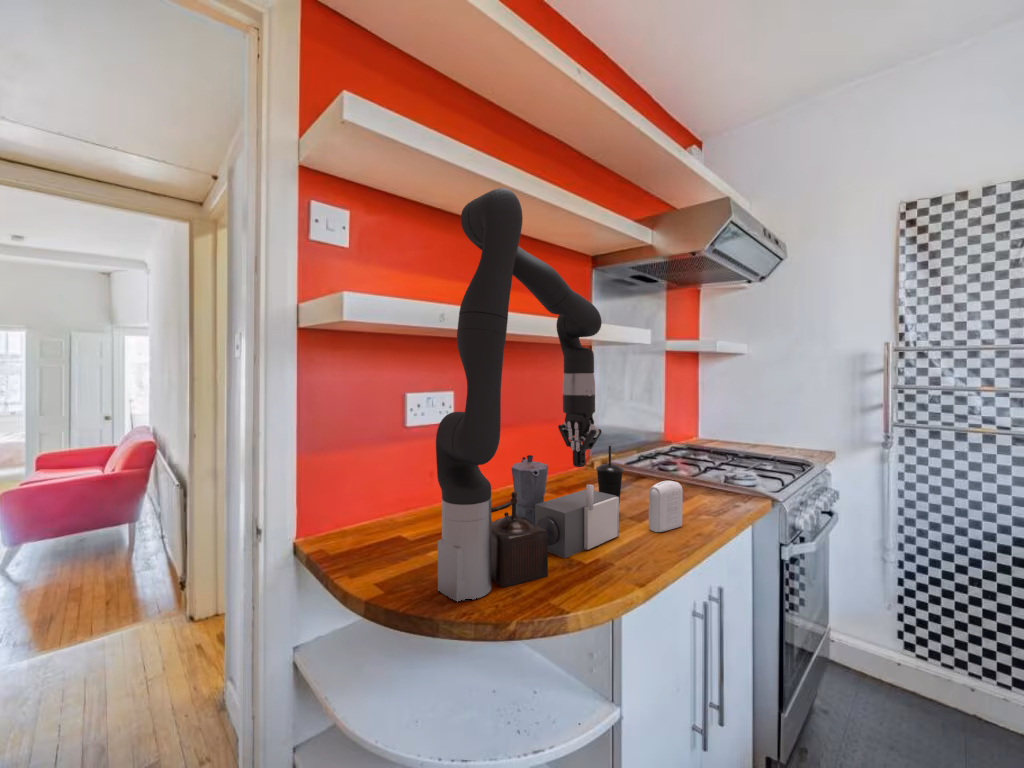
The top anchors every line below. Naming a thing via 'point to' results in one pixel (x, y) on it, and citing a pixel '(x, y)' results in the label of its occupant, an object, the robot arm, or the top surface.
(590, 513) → the side door
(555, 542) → the camera housing
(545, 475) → the moka pot
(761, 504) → the top surface
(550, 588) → the top surface
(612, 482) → the drinking cup
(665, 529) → the photo printer
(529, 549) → the coffee grinder
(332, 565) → the top surface
